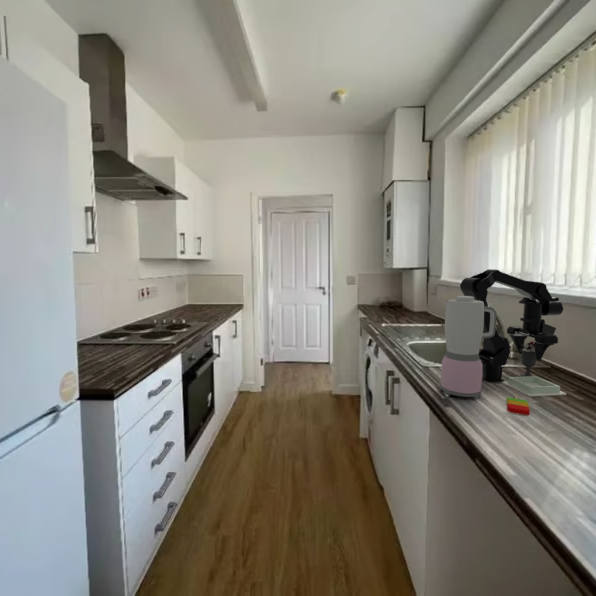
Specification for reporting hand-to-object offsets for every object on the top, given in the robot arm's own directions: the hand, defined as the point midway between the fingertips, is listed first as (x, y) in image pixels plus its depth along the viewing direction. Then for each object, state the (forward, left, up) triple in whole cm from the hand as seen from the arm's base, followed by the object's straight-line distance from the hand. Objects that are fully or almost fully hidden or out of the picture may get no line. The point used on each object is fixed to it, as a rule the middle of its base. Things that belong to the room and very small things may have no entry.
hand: (529, 357), depth 135 cm
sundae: (0, 0, -8) cm, 8 cm away
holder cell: (-8, -12, -8) cm, 16 cm away
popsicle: (-23, -24, -8) cm, 34 cm away
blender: (-34, -14, -8) cm, 37 cm away
